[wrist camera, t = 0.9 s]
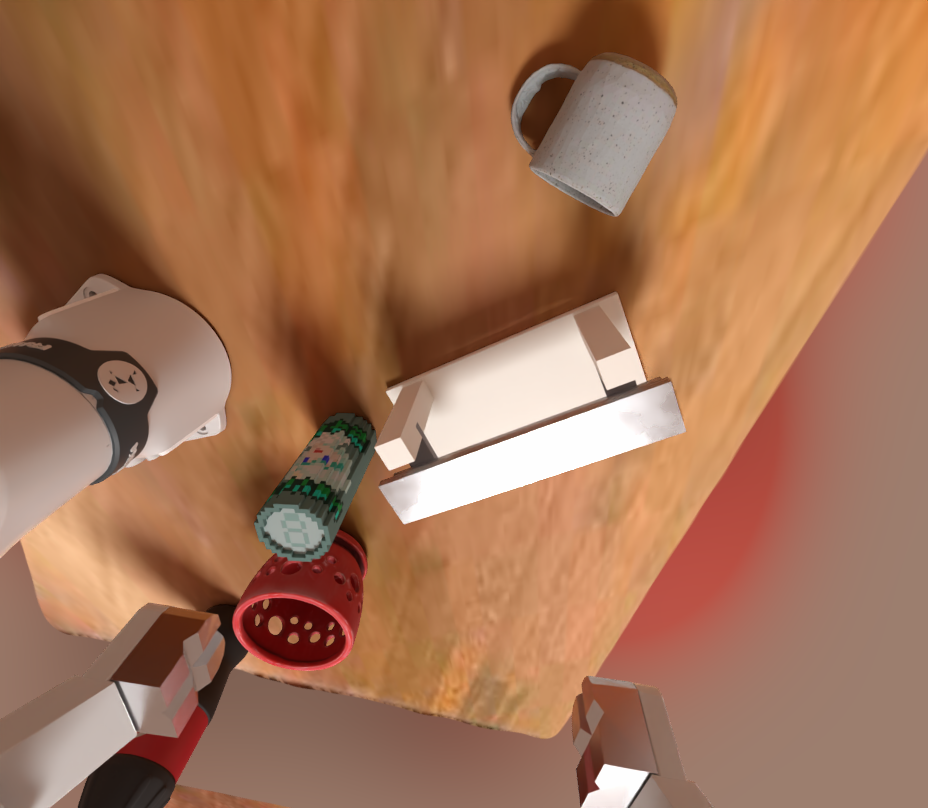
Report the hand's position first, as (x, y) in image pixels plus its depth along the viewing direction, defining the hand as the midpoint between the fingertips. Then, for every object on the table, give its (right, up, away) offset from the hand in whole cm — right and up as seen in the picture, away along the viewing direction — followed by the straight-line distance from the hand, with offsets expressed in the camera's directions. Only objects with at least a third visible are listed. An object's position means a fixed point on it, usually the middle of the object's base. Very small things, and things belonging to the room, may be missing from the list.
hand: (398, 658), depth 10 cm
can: (-11, +2, +40) cm, 41 cm away
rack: (+6, +8, +35) cm, 36 cm away
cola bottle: (-33, -26, +56) cm, 70 cm away
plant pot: (-16, -14, +48) cm, 52 cm away
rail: (+6, +3, +28) cm, 29 cm away
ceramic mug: (+10, +27, +25) cm, 38 cm away
